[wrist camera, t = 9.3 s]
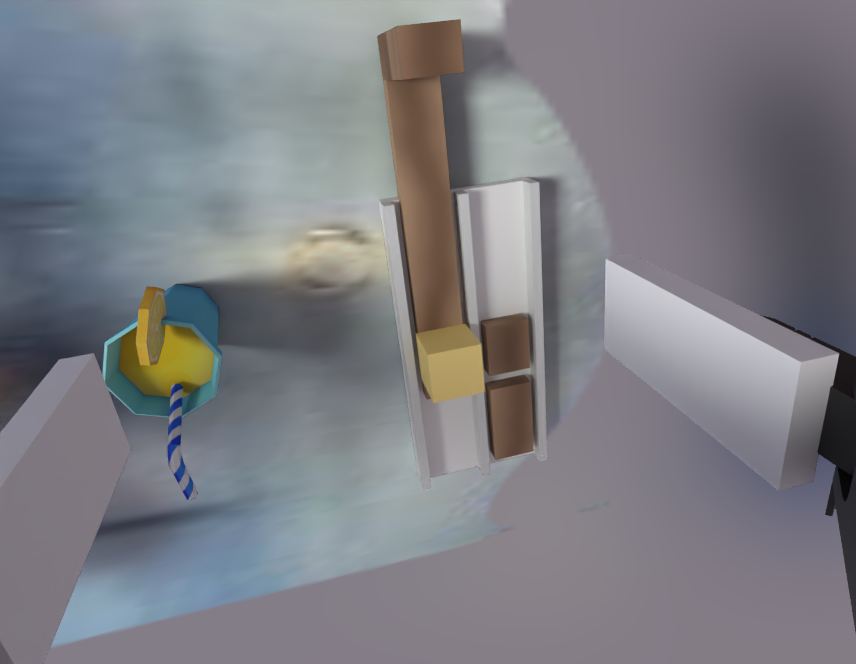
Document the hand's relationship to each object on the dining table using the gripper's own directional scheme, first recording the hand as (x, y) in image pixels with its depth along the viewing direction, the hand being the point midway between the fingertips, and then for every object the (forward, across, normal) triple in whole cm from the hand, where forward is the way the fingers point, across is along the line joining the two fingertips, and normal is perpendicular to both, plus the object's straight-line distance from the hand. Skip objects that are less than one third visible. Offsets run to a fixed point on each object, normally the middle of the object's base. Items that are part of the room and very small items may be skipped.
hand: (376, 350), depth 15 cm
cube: (+32, +8, -16) cm, 37 cm away
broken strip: (+34, +15, -22) cm, 43 cm away
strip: (+33, +8, -6) cm, 35 cm away
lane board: (+35, +12, -17) cm, 40 cm away
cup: (+35, -12, -11) cm, 38 cm away
